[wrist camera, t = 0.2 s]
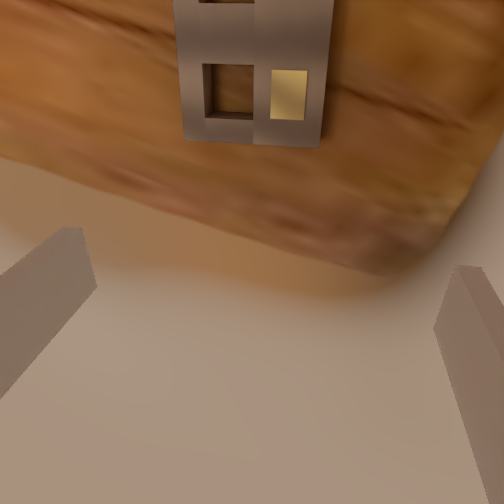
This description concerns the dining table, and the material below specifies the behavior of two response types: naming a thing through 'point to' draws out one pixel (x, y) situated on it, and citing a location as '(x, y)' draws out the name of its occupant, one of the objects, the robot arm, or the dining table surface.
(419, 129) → the dining table surface
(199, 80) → the socket board
